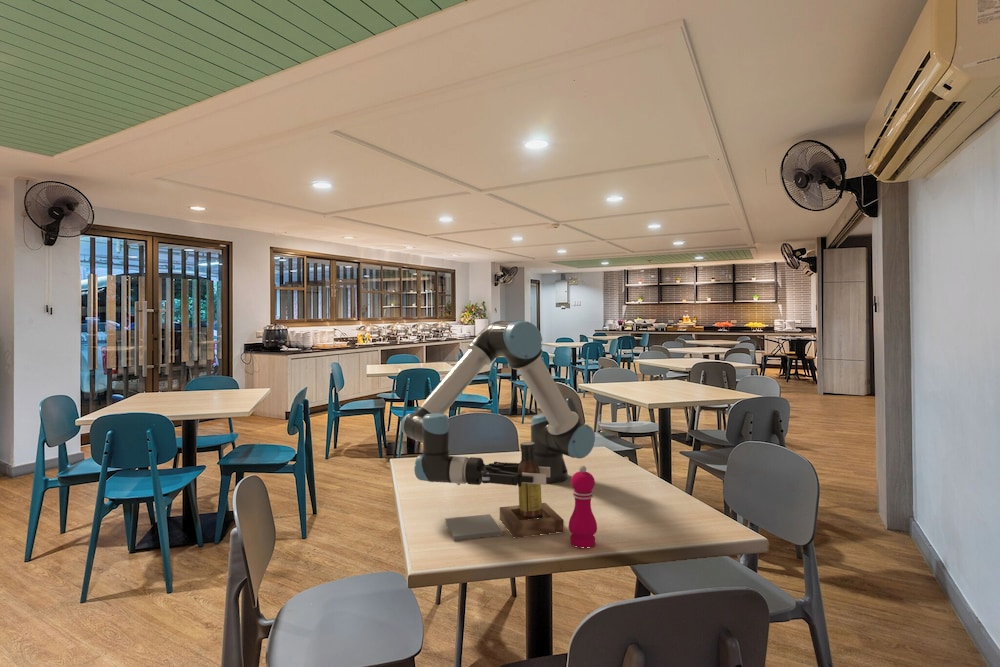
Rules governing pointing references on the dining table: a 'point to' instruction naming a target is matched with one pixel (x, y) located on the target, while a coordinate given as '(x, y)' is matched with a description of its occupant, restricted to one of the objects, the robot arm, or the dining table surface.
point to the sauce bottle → (529, 492)
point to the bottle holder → (531, 521)
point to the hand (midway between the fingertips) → (547, 475)
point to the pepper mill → (582, 510)
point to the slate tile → (472, 527)
